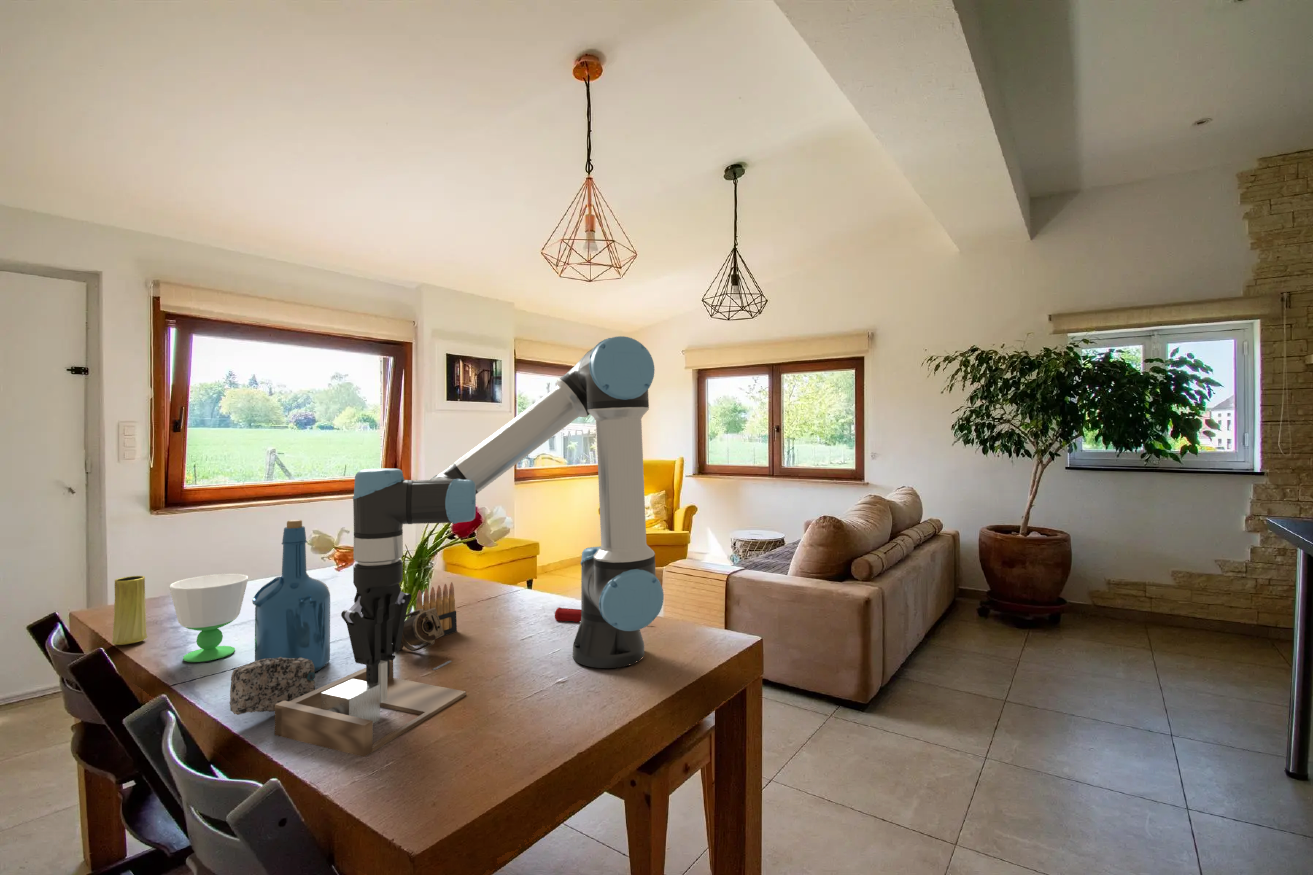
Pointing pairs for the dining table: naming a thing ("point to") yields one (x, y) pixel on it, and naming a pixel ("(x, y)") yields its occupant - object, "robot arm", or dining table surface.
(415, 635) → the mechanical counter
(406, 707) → the wooden shallow box
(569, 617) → the screwdriver
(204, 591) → the cup
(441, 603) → the ammunition clip
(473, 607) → the dining table surface
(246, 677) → the rock
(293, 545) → the wine bottle
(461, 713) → the dining table surface
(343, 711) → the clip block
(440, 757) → the dining table surface
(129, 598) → the vase
